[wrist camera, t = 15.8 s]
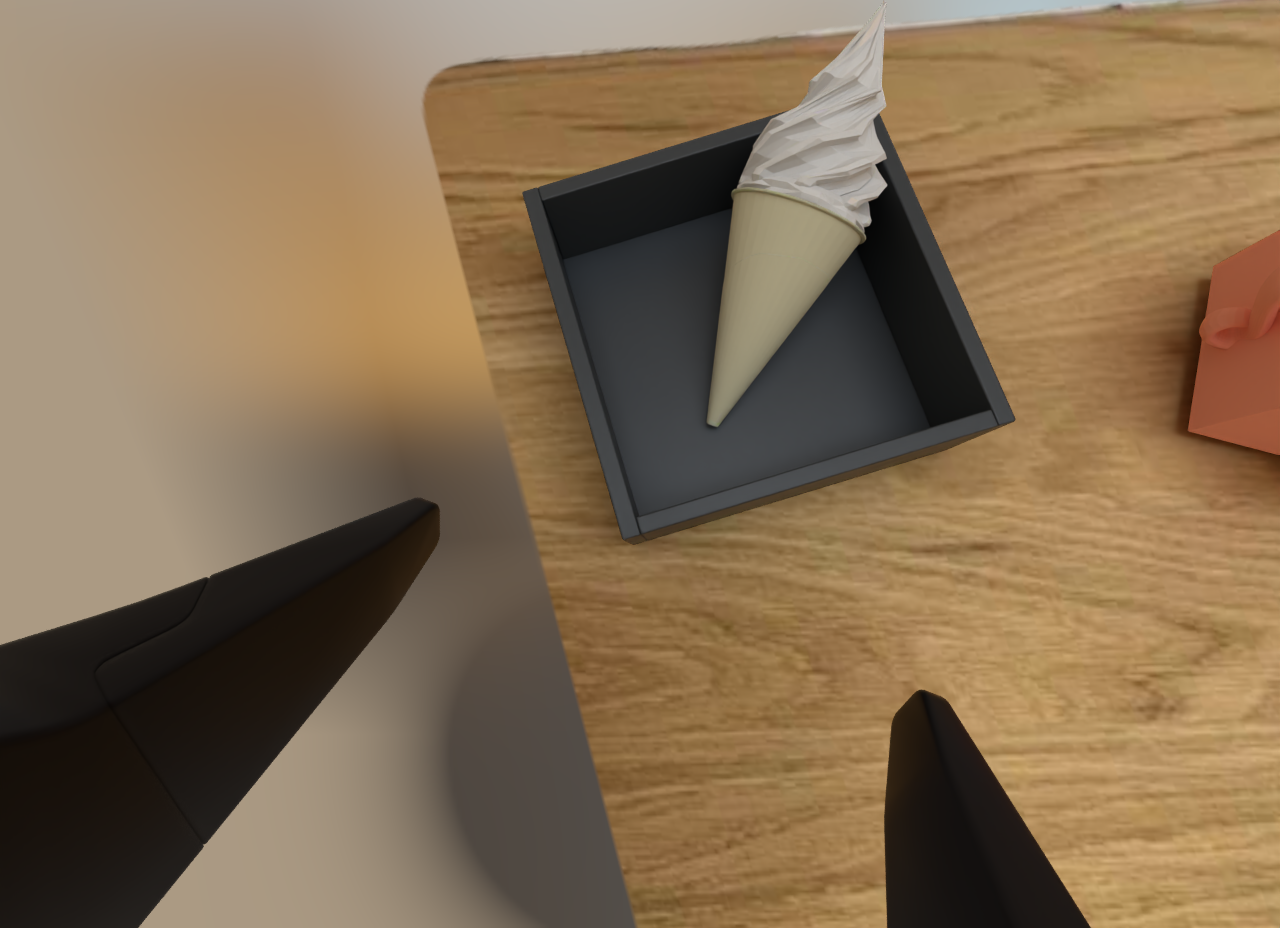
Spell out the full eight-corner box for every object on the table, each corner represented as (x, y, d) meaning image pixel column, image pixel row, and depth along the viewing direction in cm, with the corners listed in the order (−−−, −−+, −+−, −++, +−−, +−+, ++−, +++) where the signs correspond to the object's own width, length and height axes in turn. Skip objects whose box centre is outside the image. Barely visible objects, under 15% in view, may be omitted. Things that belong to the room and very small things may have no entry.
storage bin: (633, 545, 22) (622, 540, 18) (549, 259, 25) (521, 191, 20) (947, 449, 22) (1017, 420, 18) (831, 173, 25) (867, 85, 20)
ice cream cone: (759, 432, 24) (921, 61, 20) (784, 463, 20) (1004, -16, 16) (653, 392, 24) (796, 8, 20) (651, 414, 19) (840, -87, 15)
